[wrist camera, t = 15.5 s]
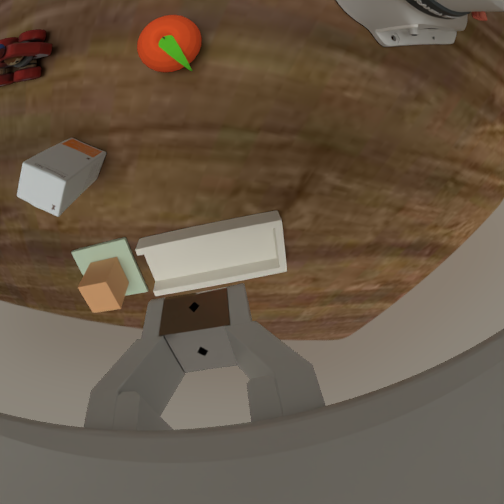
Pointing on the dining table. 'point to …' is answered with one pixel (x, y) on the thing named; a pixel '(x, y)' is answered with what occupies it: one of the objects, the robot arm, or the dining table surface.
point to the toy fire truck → (23, 56)
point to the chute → (215, 253)
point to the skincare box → (59, 175)
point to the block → (104, 285)
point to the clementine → (169, 43)
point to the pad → (112, 250)
